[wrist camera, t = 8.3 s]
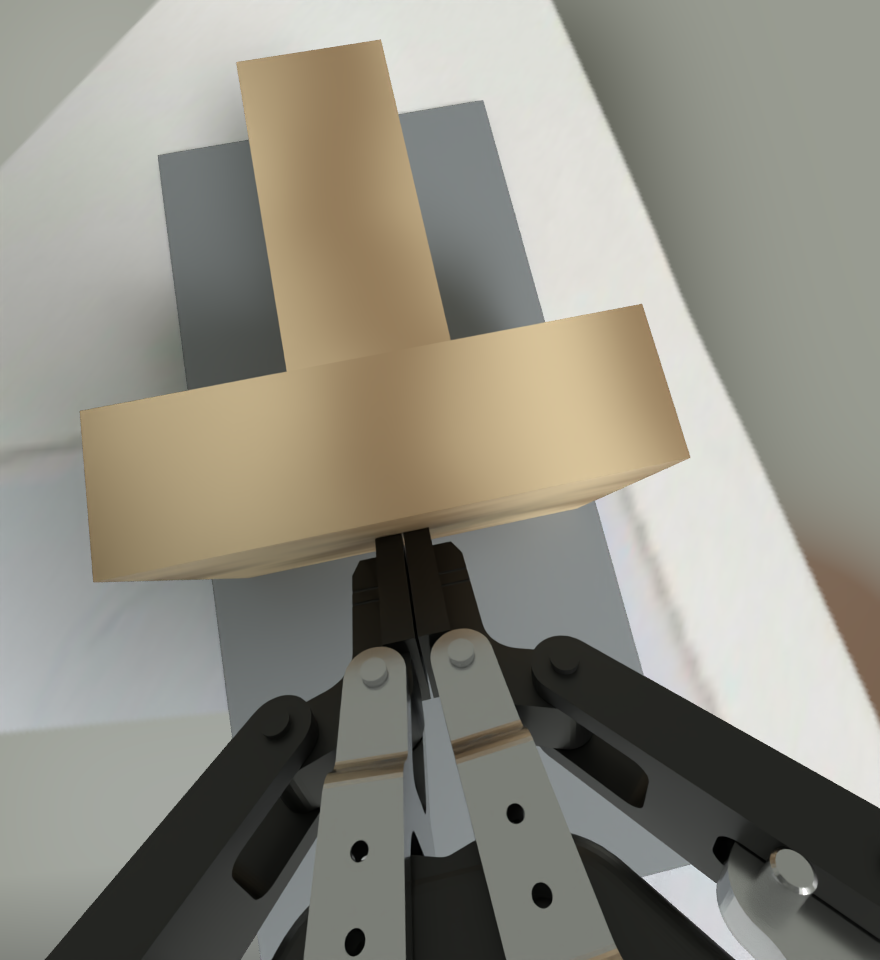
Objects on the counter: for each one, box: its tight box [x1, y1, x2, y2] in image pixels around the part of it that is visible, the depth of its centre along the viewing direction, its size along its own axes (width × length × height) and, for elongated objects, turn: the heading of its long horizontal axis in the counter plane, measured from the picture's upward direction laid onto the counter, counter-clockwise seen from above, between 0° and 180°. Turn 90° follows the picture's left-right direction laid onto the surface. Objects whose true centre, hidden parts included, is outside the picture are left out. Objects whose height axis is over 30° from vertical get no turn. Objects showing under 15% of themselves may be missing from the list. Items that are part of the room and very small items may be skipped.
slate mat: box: [158, 100, 690, 960], centre depth 18 cm, size 14×30×1 cm, turn 12°
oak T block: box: [80, 40, 690, 582], centre depth 15 cm, size 12×12×8 cm
